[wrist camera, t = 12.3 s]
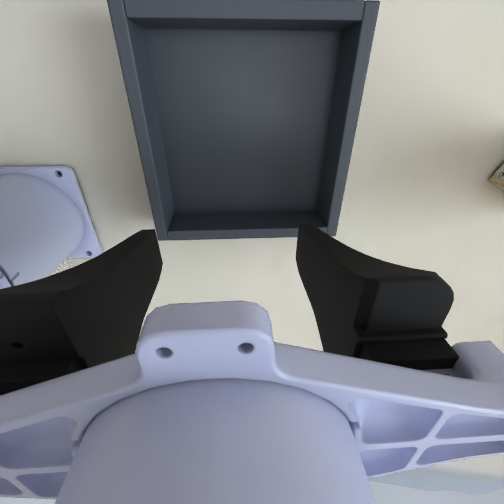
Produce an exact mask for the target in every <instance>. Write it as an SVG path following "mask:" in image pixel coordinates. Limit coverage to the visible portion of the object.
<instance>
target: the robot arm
mask: <svg viewBox="0 0 504 504" xmlns="http://www.w3.org/2000/svg"><path fill="white" fill-rule="evenodd" d="M57 171H60V172H61V173H62V176H60V175H59V174H58V172H57ZM88 251H90V252H91V253H89V252H88ZM66 258H93V259H91V260H89V261H86V262H84V263H82V264H80V265H78V266H75V267H73V268H70V269H68V270H65V271H62V272H60V273H57V274H54V275H51V274H52V272H53V271H54V270H55V269H56V268H57V267H58V266H59V265H60V264H61V263H62V262H63V261H64V260H65V259H66ZM296 262H297V266H298V271H299V274H300V277H301V280H302V282H303V285H304V287H305V290H306V292H307V295H308V298H309V300H310V303H311V305H312V308H313V311H314V314H315V318H316V322H317V326H318V329H319V334H320V338H321V342H322V346H323V351H324V352H323V351H318V350H313V349H308V348H303V347H297V346H292V345H287V344H282V343H277V342H274V339H273V332H272V326H271V320H270V318H269V315H268V312H267V310H265V309H264V308H262V307H261V306H260V305H258V304H257V303H252V302H246V301H223V302H201V303H180V304H169V305H165V306H161V307H157V308H155V309H154V310H153V311H152V312H151V313H150V314H149V315H148V316H147V317H146V320H145V322H144V325H143V328H142V330H141V327H142V323H143V320H144V317H145V314H146V312H147V309H148V307H149V304H150V302H151V299H152V297H153V294H154V292H155V289H156V287H157V284H158V281H159V278H160V274H161V270H162V265H163V262H162V258H161V254H160V249H159V245H158V240H157V236H156V232H155V229H151V230H141V231H139V232H137V233H135V234H134V235H132V236H130V237H129V238H127V239H125V240H124V241H122V242H121V243H119V244H117V245H116V246H114V247H113V248H111V249H109V250H107V251H105V252H104V253H102V250H101V247H100V244H99V241H98V238H97V235H96V233H95V230H94V227H93V224H92V221H91V218H90V215H89V212H88V210H87V207H86V204H85V201H84V198H83V195H82V192H81V190H80V187H79V184H78V181H77V178H76V175H75V172H74V171H73V169H72V168H70V167H68V166H17V167H0V497H14V498H36V499H56V502H55V504H376V501H375V498H374V495H373V492H372V489H371V486H370V483H369V480H368V478H373V477H378V476H383V475H388V474H392V473H397V472H402V471H407V470H412V469H417V468H421V467H426V466H431V465H436V464H441V463H447V462H452V461H457V460H463V459H470V458H477V457H484V456H494V455H504V354H503V353H502V352H501V351H500V350H499V349H498V348H497V347H496V346H495V345H494V344H493V343H492V342H491V341H475V342H461V343H457V344H455V345H453V346H452V347H451V346H450V345H449V344H448V343H447V341H446V340H445V339H444V338H447V336H448V335H447V333H446V331H445V330H444V329H443V328H442V327H441V326H442V324H443V322H444V320H445V318H446V316H447V314H448V312H449V311H450V309H451V306H452V303H453V300H454V293H453V291H452V289H451V287H450V286H449V285H448V284H447V283H446V282H445V281H444V280H443V279H442V278H441V277H440V276H439V275H438V274H437V273H435V272H431V271H425V270H419V269H414V268H408V267H404V266H400V265H396V264H392V263H389V262H385V261H382V260H379V259H376V258H373V257H371V256H368V255H365V254H363V253H361V252H359V251H356V250H354V249H352V248H350V247H348V246H346V245H345V244H343V243H341V242H339V241H337V240H336V239H334V238H333V237H331V236H329V235H328V234H326V233H325V232H323V231H322V230H320V229H319V228H317V227H316V226H314V225H312V224H299V228H298V239H297V250H296ZM50 275H51V276H50ZM140 331H141V333H140ZM139 334H140V336H139ZM138 338H139V339H138ZM135 351H136V353H135Z"/></svg>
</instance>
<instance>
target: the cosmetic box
mask: <svg viewBox="0 0 504 504" xmlns="http://www.w3.org/2000/svg"><path fill="white" fill-rule="evenodd" d="M489 181H490V182H491V183H493V184H494V185H496V186H497V187H499V188H500V189H502V190H503V191H504V163H503V164H502V166H501V167H500V168H499V169H498V170H497V171H496V172H495V174H494V175H493V176H492V177H491V178H490V179H489Z"/></svg>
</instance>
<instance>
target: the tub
mask: <svg viewBox="0 0 504 504" xmlns="http://www.w3.org/2000/svg"><path fill="white" fill-rule="evenodd" d="M107 3H108V7H109V12H110V17H111V21H112V26H113V31H114V35H115V40H116V45H117V50H118V54H119V59H120V64H121V68H122V73H123V78H124V82H125V87H126V92H127V96H128V101H129V106H130V111H131V115H132V120H133V125H134V129H135V134H136V139H137V143H138V148H139V153H140V158H141V162H142V167H143V172H144V176H145V181H146V186H147V190H148V195H149V200H150V204H151V209H152V214H153V219H154V223H155V228H156V233H157V237H158V240H200V239H239V238H278V237H298V228H299V224H312V225H314V226H316V227H317V228H319V229H320V230H322V231H323V232H325V233H326V234H328V235H329V236H336V231H337V226H338V221H339V215H340V210H341V205H342V200H343V194H344V189H345V184H346V179H347V173H348V168H349V163H350V158H351V152H352V147H353V142H354V136H355V131H356V126H357V121H358V115H359V110H360V105H361V100H362V94H363V89H364V84H365V78H366V73H367V68H368V63H369V57H370V52H371V47H372V42H373V36H374V31H375V26H376V21H377V15H378V10H379V5H380V1H371V0H367V1H364V0H107Z"/></svg>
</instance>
